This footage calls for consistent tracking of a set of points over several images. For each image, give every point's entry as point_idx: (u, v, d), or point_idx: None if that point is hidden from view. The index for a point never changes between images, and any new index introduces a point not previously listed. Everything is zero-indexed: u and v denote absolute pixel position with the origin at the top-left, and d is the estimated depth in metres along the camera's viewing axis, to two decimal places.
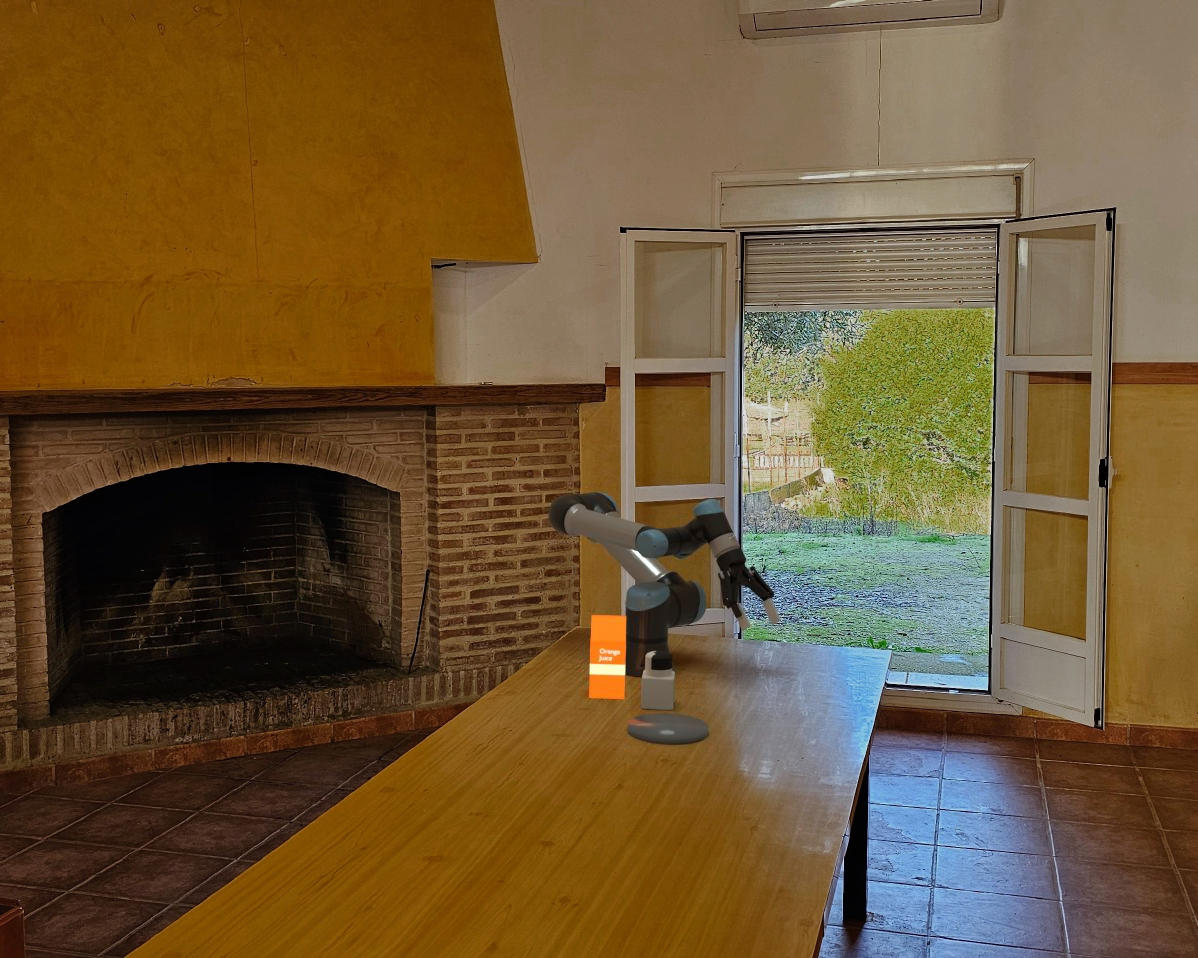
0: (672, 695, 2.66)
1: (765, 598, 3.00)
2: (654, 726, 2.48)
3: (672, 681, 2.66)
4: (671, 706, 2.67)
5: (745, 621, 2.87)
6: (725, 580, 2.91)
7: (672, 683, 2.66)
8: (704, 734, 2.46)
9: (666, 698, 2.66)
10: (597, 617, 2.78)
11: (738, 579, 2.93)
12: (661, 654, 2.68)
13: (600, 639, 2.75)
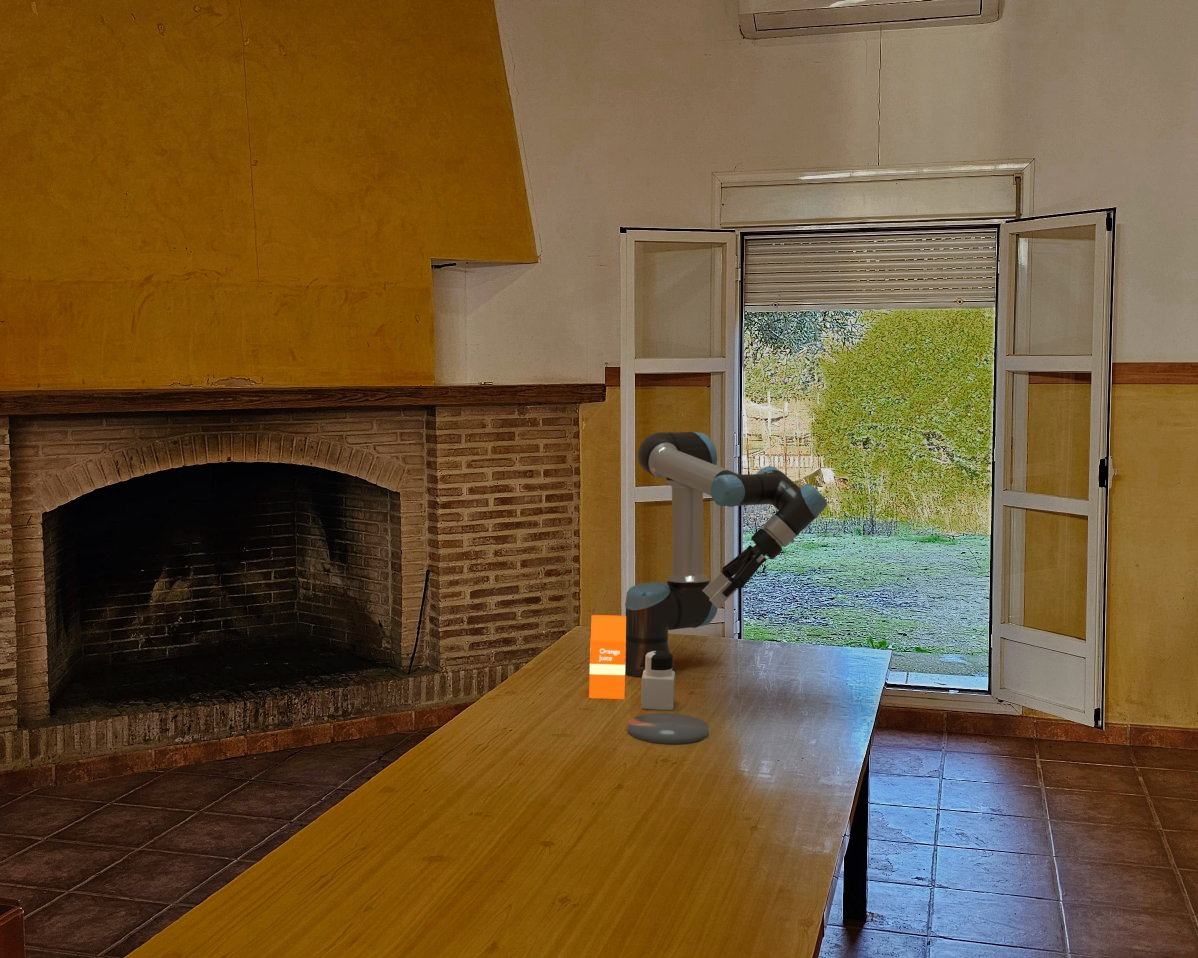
0: (672, 695, 2.66)
1: (726, 573, 2.76)
2: (654, 726, 2.48)
3: (672, 681, 2.66)
4: (671, 706, 2.67)
5: (720, 602, 2.62)
6: (756, 566, 2.62)
7: (672, 683, 2.66)
8: (704, 734, 2.46)
9: (666, 698, 2.66)
10: (597, 617, 2.78)
11: None
12: (661, 654, 2.68)
13: (600, 639, 2.75)
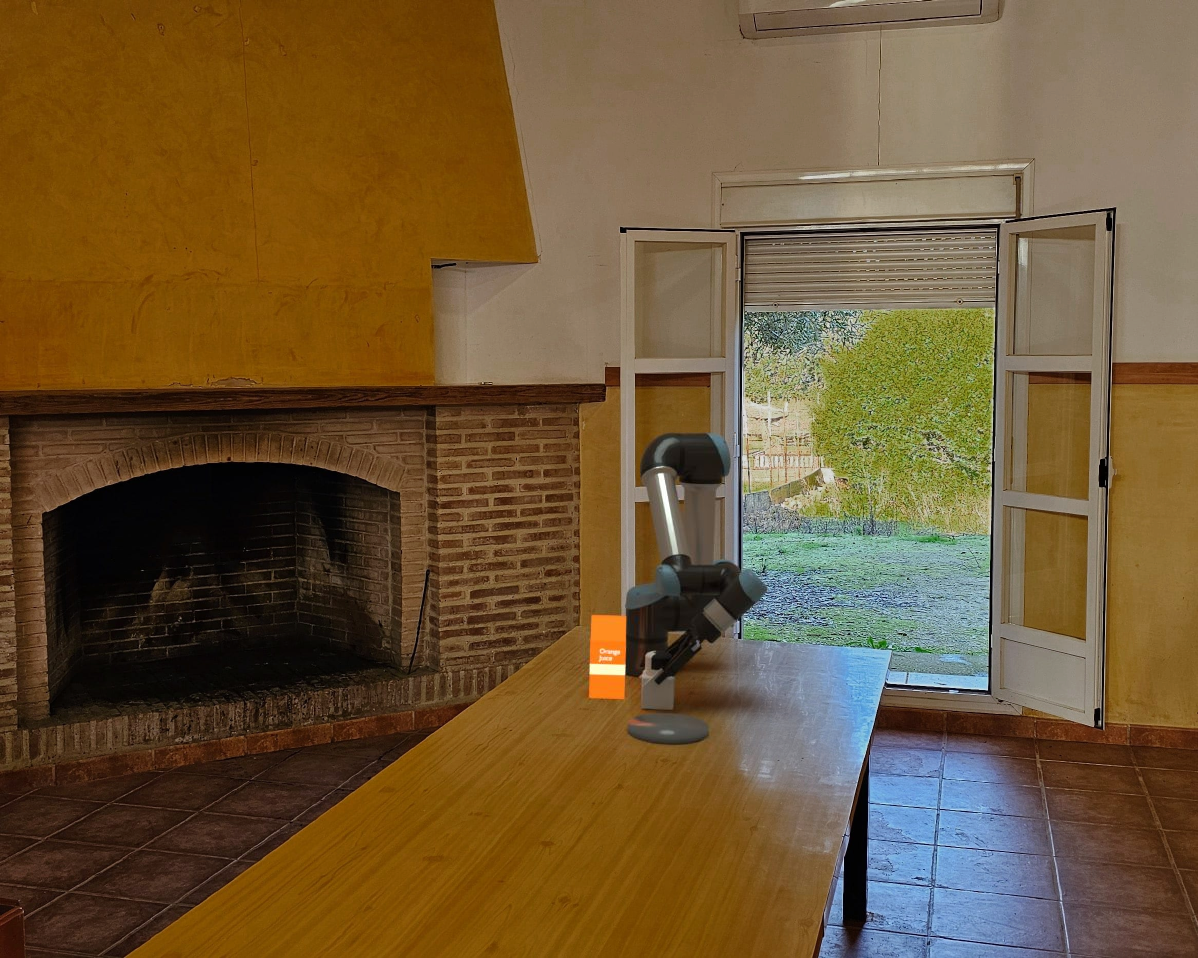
0: (672, 695, 2.66)
1: None
2: (654, 726, 2.48)
3: (672, 681, 2.66)
4: (671, 706, 2.66)
5: (652, 689, 2.65)
6: (690, 655, 2.63)
7: (672, 683, 2.66)
8: (704, 734, 2.46)
9: (666, 698, 2.66)
10: (597, 617, 2.78)
11: None
12: (661, 654, 2.68)
13: (600, 639, 2.75)
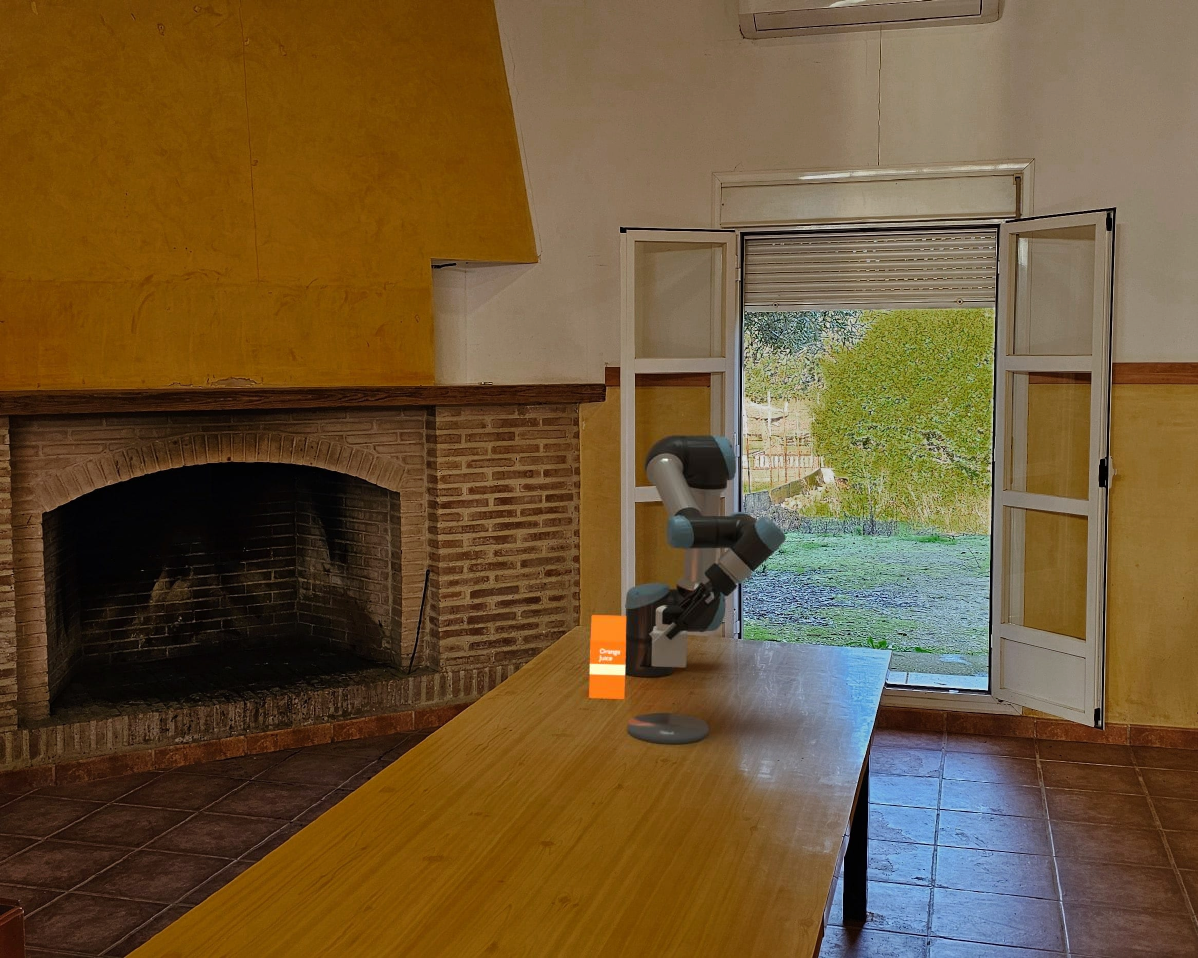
0: (685, 651, 2.49)
1: None
2: (654, 726, 2.48)
3: (685, 636, 2.49)
4: (684, 663, 2.49)
5: (664, 645, 2.48)
6: (704, 608, 2.46)
7: (685, 638, 2.49)
8: (704, 734, 2.46)
9: (678, 655, 2.49)
10: (597, 617, 2.78)
11: None
12: (673, 608, 2.51)
13: (600, 639, 2.75)
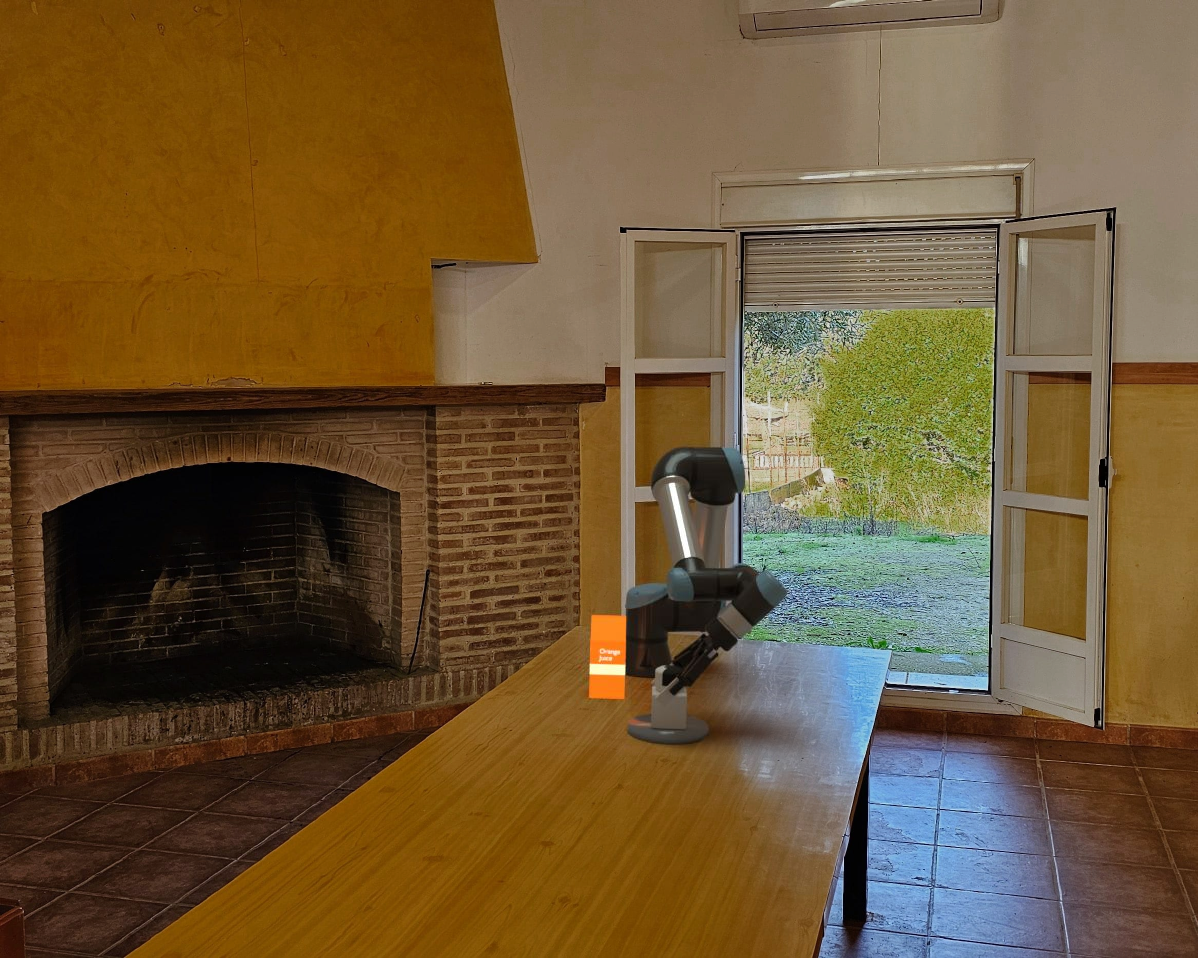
0: (685, 713, 2.46)
1: (677, 664, 2.56)
2: None
3: (685, 698, 2.46)
4: (684, 725, 2.46)
5: (667, 700, 2.43)
6: (707, 663, 2.42)
7: (685, 700, 2.46)
8: (704, 734, 2.46)
9: (678, 717, 2.46)
10: (597, 617, 2.78)
11: None
12: (673, 669, 2.48)
13: (600, 639, 2.75)
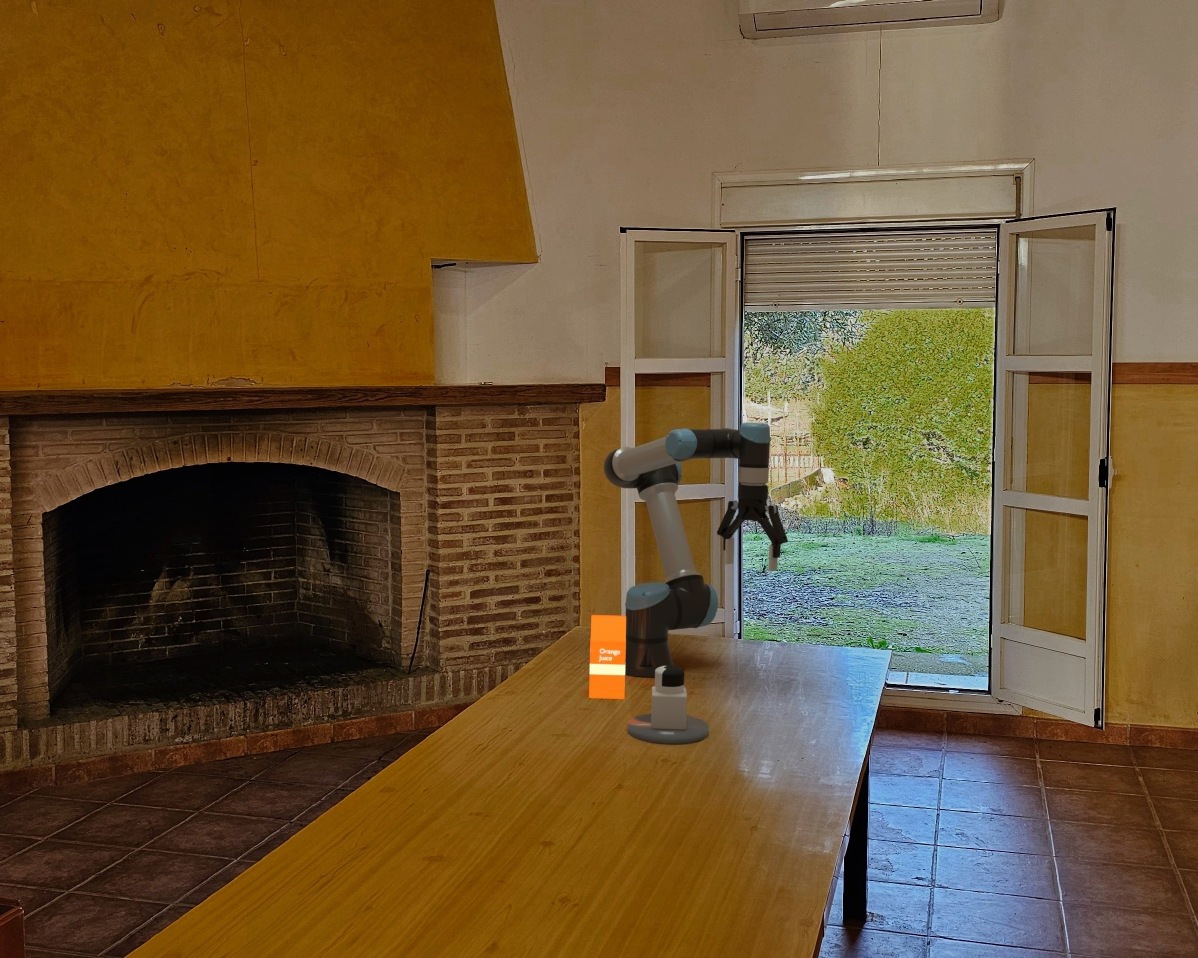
0: (685, 714, 2.46)
1: (728, 536, 2.88)
2: None
3: (685, 698, 2.46)
4: (684, 725, 2.46)
5: (776, 564, 2.80)
6: (778, 517, 2.79)
7: (685, 701, 2.46)
8: (704, 734, 2.46)
9: (678, 717, 2.46)
10: (597, 617, 2.78)
11: None
12: (672, 669, 2.48)
13: (600, 639, 2.75)
